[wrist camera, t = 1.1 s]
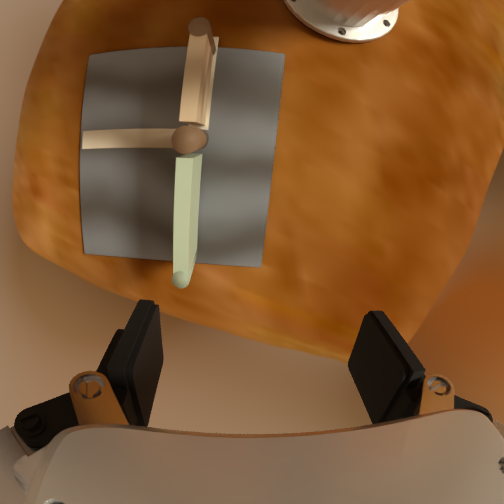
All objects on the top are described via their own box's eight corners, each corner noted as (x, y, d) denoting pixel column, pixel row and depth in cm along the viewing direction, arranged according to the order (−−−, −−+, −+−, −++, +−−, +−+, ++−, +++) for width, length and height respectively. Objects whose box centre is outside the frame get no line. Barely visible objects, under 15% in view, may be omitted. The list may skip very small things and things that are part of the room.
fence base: (92, 46, 21) (58, 28, 14) (285, 45, 22) (300, 18, 16) (86, 252, 29) (55, 281, 22) (260, 265, 30) (267, 301, 24)
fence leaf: (188, 153, 25) (174, 157, 19) (203, 153, 25) (194, 158, 19) (183, 257, 29) (172, 287, 23) (197, 258, 29) (189, 288, 23)
